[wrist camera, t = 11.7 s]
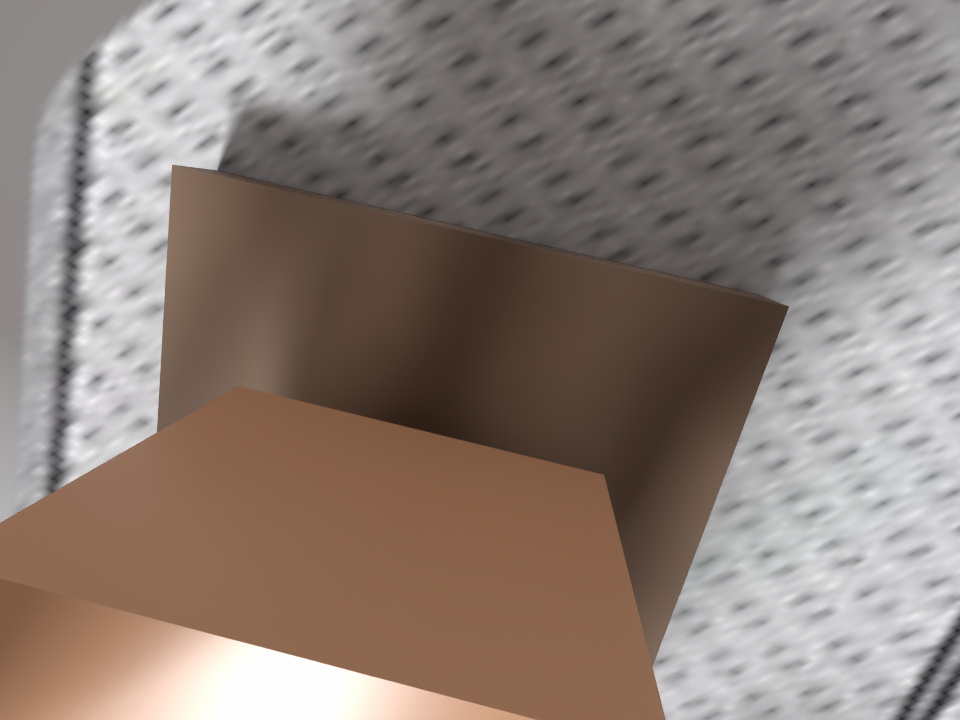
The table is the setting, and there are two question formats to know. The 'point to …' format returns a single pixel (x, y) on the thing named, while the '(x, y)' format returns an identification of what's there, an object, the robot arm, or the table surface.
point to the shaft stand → (470, 348)
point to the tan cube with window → (319, 580)
